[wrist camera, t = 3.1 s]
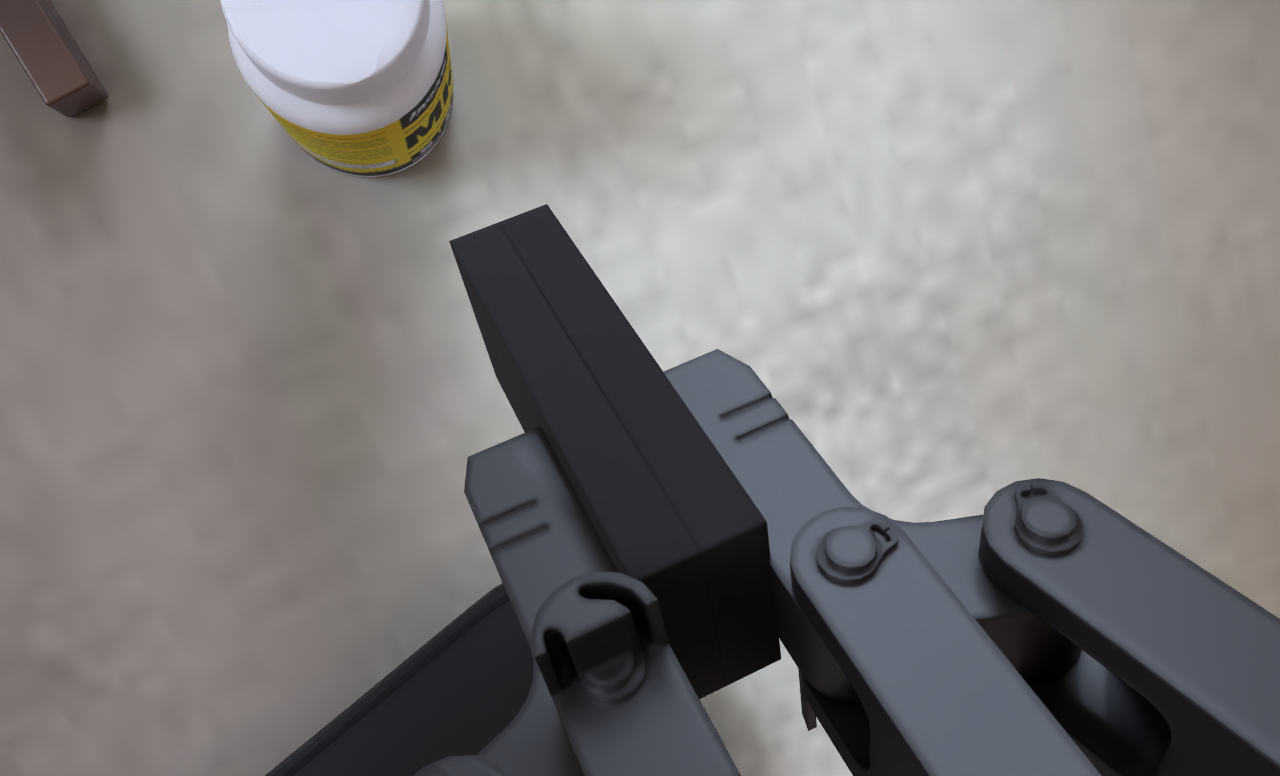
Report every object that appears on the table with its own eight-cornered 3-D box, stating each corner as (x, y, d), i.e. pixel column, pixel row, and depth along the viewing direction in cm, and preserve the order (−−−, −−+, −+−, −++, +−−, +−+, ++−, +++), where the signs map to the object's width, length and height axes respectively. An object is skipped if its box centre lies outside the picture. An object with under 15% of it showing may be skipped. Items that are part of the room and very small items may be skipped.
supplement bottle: (441, 193, 30) (424, 131, 21) (267, 164, 29) (179, 88, 21) (466, 22, 29) (458, -107, 21) (292, -11, 29) (213, -158, 20)
